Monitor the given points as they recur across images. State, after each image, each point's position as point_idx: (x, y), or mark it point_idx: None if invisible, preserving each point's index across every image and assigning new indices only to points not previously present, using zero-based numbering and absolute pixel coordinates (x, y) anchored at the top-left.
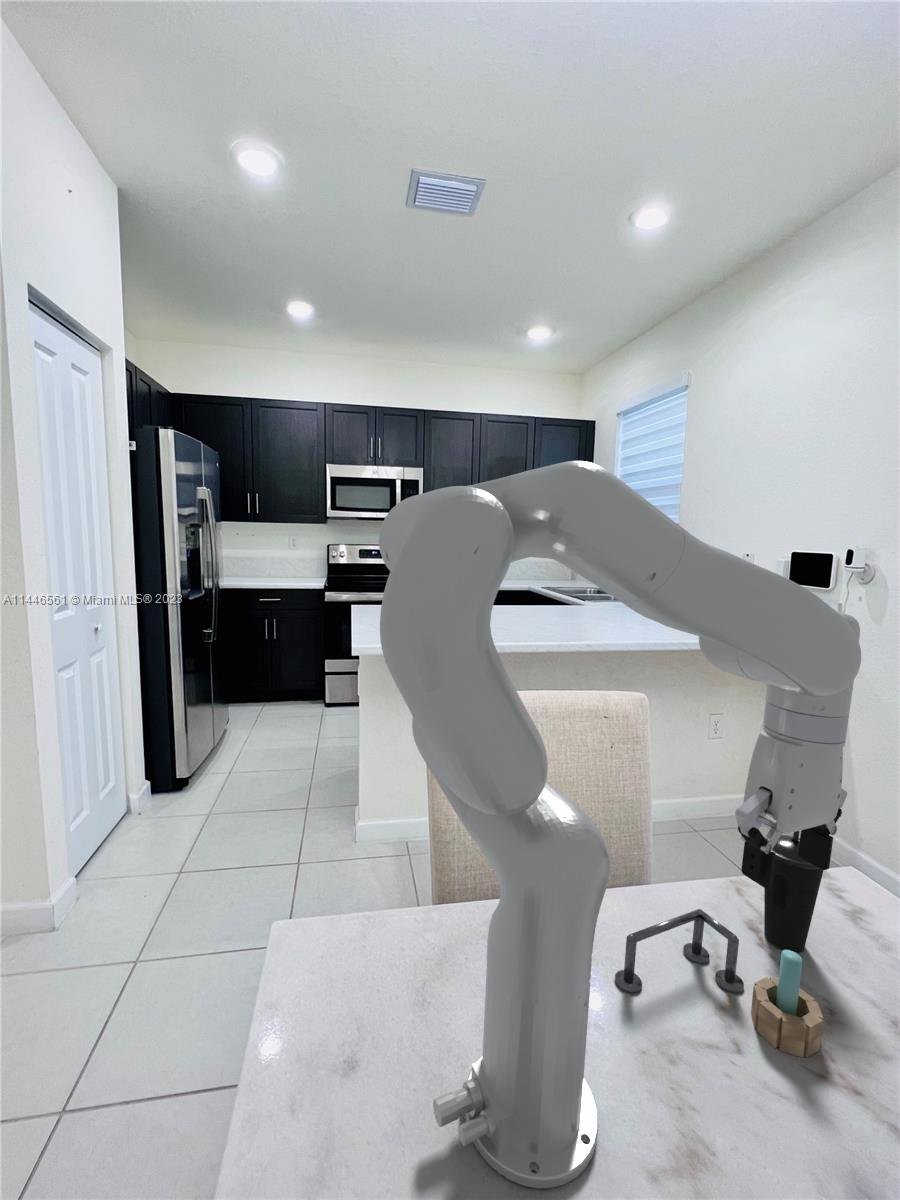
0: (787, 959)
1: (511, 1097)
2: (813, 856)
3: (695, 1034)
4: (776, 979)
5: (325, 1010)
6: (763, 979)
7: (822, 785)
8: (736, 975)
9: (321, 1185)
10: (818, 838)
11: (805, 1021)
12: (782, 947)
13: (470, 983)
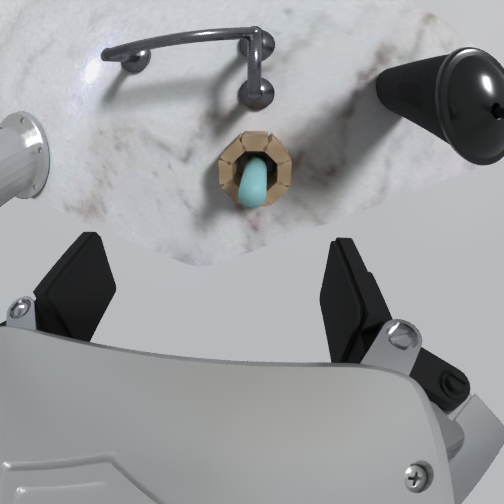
0: (239, 195)
1: None
2: (329, 289)
3: (158, 131)
4: (275, 146)
5: None
6: (259, 138)
7: None
8: (273, 92)
9: None
10: (338, 345)
11: None
12: (379, 96)
13: (20, 47)
